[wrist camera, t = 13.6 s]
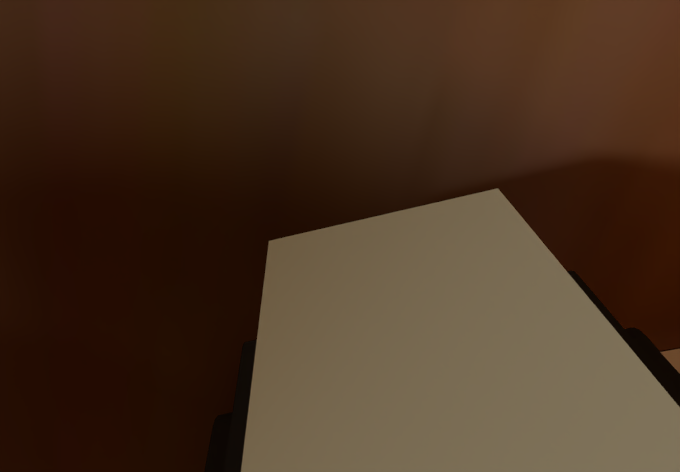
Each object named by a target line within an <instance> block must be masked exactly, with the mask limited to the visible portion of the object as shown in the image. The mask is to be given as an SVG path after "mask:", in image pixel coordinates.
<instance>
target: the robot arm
mask: <svg viewBox="0 0 680 472" xmlns="http://www.w3.org/2000/svg"><path fill="white" fill-rule="evenodd" d="M568 273H569V275H570V276H571V277H572V278H573V279H574V281H575V282H576V283H577V284H578V285H579V287H580V288H581V289H582V290H583V291H584V293H585V294H586V295H587V296H588V297H589V299H590V300H591V301H592V302H593V304H594V305H595V306H596V307H597V308H598V310H599V311H600V312H601V313H602V314H603V316H604V317H605V318H606V319H607V320H608V322H609V323H610V324H611V325H612V326H613V328H614V329H615V330H616V331H617V332H618V334H619V335H620V336H621V337H622V338H623V340H624V341H625V342H626V343H627V344H628V346H629V347H630V348H631V349H632V350H633V352H634V353H635V354H636V355H637V357H638V358H639V359H640V360H641V361H642V363H643V364H644V365H645V366H646V367H647V369H648V370H649V371H650V372H651V373H652V375H653V376H654V377H655V378H656V379H657V381H658V382H659V383H660V384H661V385H662V387H663V388H664V389H665V390H666V391H667V393H668V394H669V395H670V396H671V397H672V399H673V400H674V401H675V402H676V403H677V405H678V406H679V407H680V373H679V372H678V371H677V370H676V369H675V368H674V367H673V366H672V365H671V363H670V362H669V361H668V360H667V359H666V358H665V357H664V356H663V355H662V353H661V352H660V351H659V350H658V349H657V348H656V347H655V346H654V344H653V343H652V342H651V341H650V340H649V339H648V338H647V337H646V336H645V335H644V334H643V333H642V332H641V331H640V330H638V329H636V328H628V329H624V328H623V327H622V326H621V325H620V324H619V323H618V321H617V320H616V319H615V318H614V317H613V316H612V314H611V313H610V312H609V311H608V310H607V309H606V307H605V306H604V305H603V304H602V303H601V301H600V300H599V299H598V298H597V297H596V296H595V294H594V293H593V292H592V291H591V290H590V289H589V287H588V286H587V285H586V284H585V283H584V282H583V280H582V279H581V278H580V277H579V276H578V275H577V274H576V273H575V272H574V271H568ZM256 343H257V340H253V341H248V342H245V343H244V344H243V348H242V355H241V361H240V368H239V374H238V381H237V387H236V394H235V400H234V407H233V412H232V413H228V414H223V415H218V416H217V418H216V419H215V422H214V425H213V429H212V434H211V440H210V445H209V450H208V455H207V461H206V466H205V471H204V472H241V467H242V459H243V450H244V442H245V434H246V426H247V417H248V409H249V401H250V393H251V384H252V376H253V368H254V360H255V351H256Z"/></svg>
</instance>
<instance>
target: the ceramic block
mask: <svg viewBox="0 0 680 472" xmlns="http://www.w3.org/2000/svg"><path fill="white" fill-rule="evenodd" d="M241 472H680V407H679V406H678V405H677V403H676V402H675V401H674V400H673V399H672V397H671V396H670V395H669V394H668V393H667V391H666V390H665V389H664V388H663V387H662V385H661V384H660V383H659V382H658V381H657V379H656V378H655V377H654V376H653V375H652V373H651V372H650V371H649V370H648V369H647V367H646V366H645V365H644V364H643V363H642V361H641V360H640V359H639V358H638V357H637V355H636V354H635V353H634V352H633V350H632V349H631V348H630V347H629V346H628V344H627V343H626V342H625V341H624V340H623V338H622V337H621V336H620V335H619V334H618V332H617V331H616V330H615V329H614V328H613V326H612V325H611V324H610V323H609V322H608V320H607V319H606V318H605V317H604V316H603V314H602V313H601V312H600V311H599V310H598V308H597V307H596V306H595V305H594V304H593V302H592V301H591V300H590V299H589V297H588V296H587V295H586V294H585V293H584V291H583V290H582V289H581V288H580V287H579V285H578V284H577V283H576V282H575V281H574V279H573V278H572V277H571V276H570V275H569V273H568V272H567V271H566V270H565V269H564V267H563V266H562V265H561V264H560V263H559V261H558V260H557V259H556V258H555V257H554V255H553V254H552V253H551V252H550V251H549V249H548V248H547V247H546V246H545V244H544V243H543V242H542V241H541V240H540V238H539V237H538V236H537V235H536V234H535V232H534V231H533V230H532V229H531V228H530V226H529V225H528V224H527V223H526V222H525V220H524V219H523V218H522V217H521V216H520V214H519V213H518V212H517V211H516V210H515V208H514V207H513V206H512V205H511V204H510V202H509V201H508V200H507V199H506V197H505V196H504V195H503V194H502V193H501V191H500V190H499V189H498V188H497V189H493V190H489V191H484V192H480V193H475V194H471V195H467V196H462V197H458V198H454V199H449V200H445V201H441V202H436V203H432V204H428V205H423V206H419V207H414V208H410V209H406V210H401V211H397V212H393V213H388V214H384V215H380V216H375V217H371V218H366V219H362V220H358V221H353V222H349V223H345V224H340V225H336V226H332V227H327V228H323V229H318V230H314V231H310V232H305V233H301V234H297V235H292V236H288V237H284V238H279V239H275V240H271V241H269V244H268V252H267V260H266V269H265V277H264V285H263V293H262V302H261V310H260V318H259V326H258V335H257V343H256V351H255V360H254V368H253V376H252V384H251V393H250V401H249V409H248V417H247V426H246V434H245V442H244V450H243V459H242V467H241Z"/></svg>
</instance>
